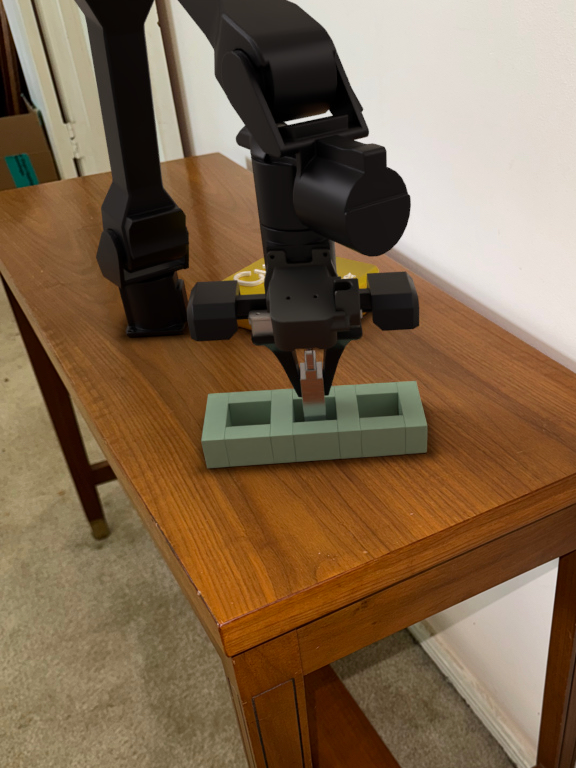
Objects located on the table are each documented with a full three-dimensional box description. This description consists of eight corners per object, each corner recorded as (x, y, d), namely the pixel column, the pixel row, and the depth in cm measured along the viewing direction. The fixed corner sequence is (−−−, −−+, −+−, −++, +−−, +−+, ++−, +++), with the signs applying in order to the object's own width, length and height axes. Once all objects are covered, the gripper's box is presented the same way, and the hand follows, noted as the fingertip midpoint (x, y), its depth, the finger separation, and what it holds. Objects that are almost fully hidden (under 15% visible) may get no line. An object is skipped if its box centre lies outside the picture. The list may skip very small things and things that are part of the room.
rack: (207, 468, 68) (201, 440, 67) (213, 420, 74) (208, 393, 72) (426, 453, 70) (427, 425, 68) (416, 406, 76) (416, 380, 74)
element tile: (318, 350, 85) (315, 309, 82) (214, 321, 90) (207, 282, 87) (386, 300, 95) (385, 261, 92) (288, 276, 100) (284, 239, 97)
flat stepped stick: (306, 438, 70) (297, 355, 64) (305, 417, 73) (296, 335, 67) (328, 437, 70) (320, 353, 65) (326, 416, 73) (319, 334, 67)
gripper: (160, 265, 52) (202, 452, 62) (430, 252, 54) (426, 436, 64) (177, 210, 60) (211, 383, 71) (411, 200, 62) (410, 371, 72)
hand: (313, 394), depth 69 cm, fingers closed on flat stepped stick, 2 cm apart
